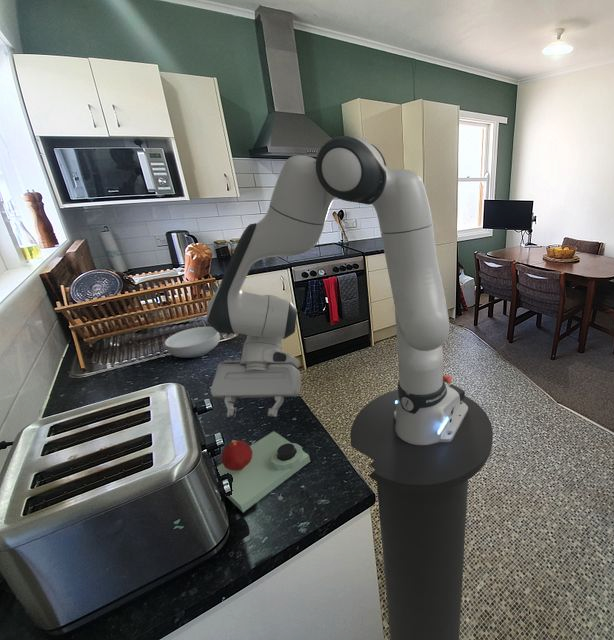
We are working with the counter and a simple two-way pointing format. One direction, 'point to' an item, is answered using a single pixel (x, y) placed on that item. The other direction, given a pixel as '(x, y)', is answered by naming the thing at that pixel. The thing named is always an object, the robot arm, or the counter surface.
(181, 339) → the cereal bowl
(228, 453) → the onion
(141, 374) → the counter surface
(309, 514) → the counter surface
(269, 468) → the scale
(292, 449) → the button
